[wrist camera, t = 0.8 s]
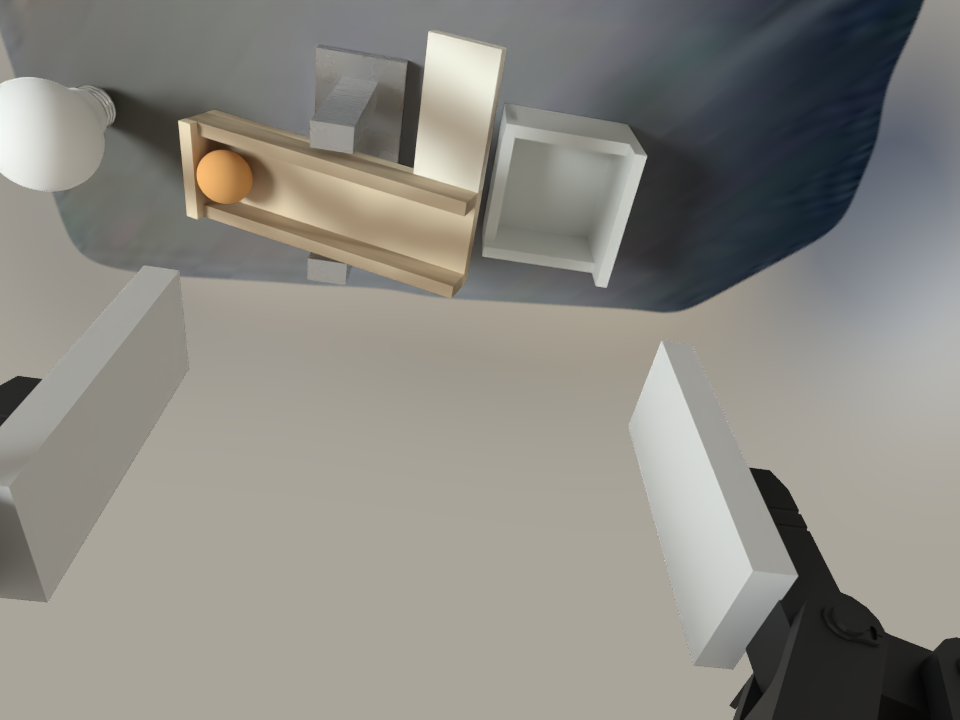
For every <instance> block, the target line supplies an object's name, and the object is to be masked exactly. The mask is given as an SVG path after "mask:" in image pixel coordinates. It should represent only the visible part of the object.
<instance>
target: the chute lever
mask: <svg viewBox="0 0 960 720" xmlns="http://www.w3.org/2000/svg"><path fill="white" fill-rule="evenodd" d="M506 51H507V48H506V47H502V46H498V45H494V44H490V43H486V42H482V41H478V40H474V39H470V38H466V37H462V36H458V35H454V34H450V33H446V32H442V31H438V30H432V31H429V33H428V43H427V52H426V61H425V70H424V79H423V88H422V98H421V107H420V116H419V125H418V134H417V144H416V153H415V162H414V168H411V167H407V166H404V165H401V164H397V163H394V162H390V161H387V160H384V159H380V158H377V157H373V156H370V155H367V154H363V153H360V152H356V151H354V153H353V154H349V153H343V152H337V151H331V150H324V149H318V148H312V147H310V138H309V137H305V136H302V135H299V134H295V133H292V132H288V131H285V130H282V129H278V128H275V127H271V126H268V125H265V124H261V123H258V122H254V121H251V120H248V119H244V118H241V117H237V116H234V115H231V114H227V113H224V112H220V111H217V110H211V111H208V112H205V113H201V114H198V115H195V116H192V117H188V118H185V119H182V120H178V123H179V134H180V145H181V155H182V166H183V177H184V188H185V198H186V209H187V216H189V217H192V218H195V219H200V218H202V217H207V218H210V219H213V220H216V221H219V222H222V223H225V224H228V225H231V226H234V227H237V228H240V229H243V230H246V231H250V232H253V233H256V234H259V235H262V236H265V237H268V238H271V239H274V240H277V241H280V242H283V243H286V244H289V245H292V246H295V247H298V248H301V249H304V250H307V251H310V252H313V253H316V254H319V255H322V256H325V257H328V258H331V259H334V260H337V261H340V262H343V263H346V264H349V265H352V266H355V267H358V268H361V269H364V270H367V271H370V272H373V273H376V274H379V275H382V276H385V277H388V278H391V279H394V280H397V281H400V282H403V283H406V284H409V285H412V286H415V287H418V288H421V289H424V290H427V291H430V292H433V293H436V294H439V295H442V296H445V297H448V298H452V297H453V296H454V295H455V294H456V293H457V291H458V290H459V289H460V288H461V287H462V286H463V285H464V283H465V282H466V281H467V277H468V272H469V266H470V260H471V254H472V248H473V243H474V237H475V231H476V225H477V219H478V214H479V208H480V202H481V196H482V190H483V185H484V179H485V173H486V167H487V162H488V156H489V150H490V144H491V138H492V133H493V127H494V121H495V115H496V109H497V104H498V98H499V92H500V86H501V80H502V75H503V69H504V63H505V57H506ZM216 150H228V151H232V152H234V153H236V154H238V155H240V156H241V157H242V158H243V159H244V160H245V161H246V162H247V164H248V165H249V167H250V169H251V172H252V178H253V181H252V187H251V189H250V191H249V193H248V194H247V196H246V197H245V198H243V199H242V200H241V201H239V202H236V203H232V204H222V203H218V202H215V201H213V200H211V199H210V198H208V197H207V196H206V195H205V194H204V193H203V192H202V190H201V188H200V187H199V184H198V181H197V168H198V165H199V163H200V161H201V160H202V158H203V157H204V156H205V155H207V154H208V153H210V152H212V151H216Z"/></svg>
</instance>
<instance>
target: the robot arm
mask: <svg viewBox="0 0 960 720" xmlns="http://www.w3.org/2000/svg"><path fill="white" fill-rule="evenodd" d="M188 370H189V362H188V352H187V343H186V333H185V323H184V313H183V303H182V293H181V283H180V274H179V271H178V270H172V269H165V268H158V267H151V266H143V267H142V268H141V269H140V270H139V272H138V273H137V274H136V275H135V276H134V277H133V278H132V279H131V281H130V282H129V283H128V284H127V285H126V286H125V287H124V289H123V290H122V291H121V292H120V293H119V294H118V295H117V296H116V297H115V299H114V300H113V301H112V302H111V303H110V304H109V305H108V306H107V308H106V309H105V310H104V311H103V312H102V313H101V314H100V315H99V316H98V318H97V319H96V320H95V321H94V322H93V323H92V324H91V325H90V327H89V328H88V329H87V330H86V331H85V332H84V333H83V335H82V336H81V337H80V338H79V339H78V340H77V341H76V342H75V343H74V345H73V346H72V347H71V348H70V349H69V350H68V351H67V352H66V354H65V355H64V356H63V357H62V358H61V359H60V360H59V361H58V363H57V364H56V365H55V366H54V367H53V368H52V369H51V370H50V371H49V373H48V374H47V375H46V376H45V377H44V378H43V379H38V378H30V377H22V376H17V377H15V378H13V379H11V380H10V381H8V382H6V383H4V384H2V385H0V598H8V599H9V598H10V599H20V600H29V601H39V602H48V601H49V599H50V597H51V596H52V594H53V592H54V591H55V589H56V588H57V586H58V584H59V583H60V581H61V579H62V578H63V576H64V574H65V573H66V571H67V569H68V568H69V566H70V564H71V563H72V561H73V559H74V558H75V556H76V554H77V553H78V551H79V549H80V548H81V546H82V544H83V543H84V541H85V540H86V538H87V536H88V535H89V533H90V531H91V530H92V528H93V526H94V525H95V523H96V522H97V520H98V518H99V517H100V515H101V513H102V512H103V510H104V508H105V507H106V505H107V503H108V502H109V500H110V498H111V497H112V495H113V493H114V492H115V490H116V488H117V487H118V485H119V484H120V482H121V480H122V479H123V477H124V475H125V474H126V472H127V470H128V469H129V467H130V465H131V464H132V462H133V461H134V459H135V457H136V455H137V454H138V452H139V451H140V449H141V447H142V446H143V444H144V442H145V441H146V439H147V437H148V436H149V434H150V432H151V431H152V429H153V428H154V426H155V424H156V422H157V421H158V419H159V418H160V416H161V414H162V413H163V411H164V409H165V408H166V406H167V404H168V403H169V401H170V399H171V398H172V396H173V395H174V393H175V391H176V389H177V388H178V386H179V385H180V383H181V381H182V380H183V378H184V376H185V375H186V373H187V371H188ZM628 427H629V431H630V434H631V438H632V442H633V445H634V449H635V453H636V457H637V460H638V464H639V467H640V471H641V475H642V479H643V482H644V486H645V490H646V493H647V497H648V501H649V504H650V508H651V512H652V515H653V519H654V523H655V527H656V530H657V534H658V538H659V541H660V545H661V549H662V552H663V556H664V560H665V564H666V567H667V570H668V574H669V578H670V582H671V585H672V589H673V593H674V597H675V600H676V604H677V608H678V611H679V615H680V619H681V623H682V626H683V630H684V633H685V637H686V641H687V645H688V648H689V651H690V656H691V659H692V663H693V665H694V666H704V667H713V668H723V669H724V668H725V669H734V667H735V666H736V664H737V663H738V662H739V660H740V659H741V657H742V656H743V654H744V653H745V652H747V655H748V657H749V660H750V663H751V666H752V669H753V672H754V673H753V674H752V675H751V677H750V678H749V679H748V681H747V682H746V683H745V685H744V686H743V688H742V689H741V690H740V692H739V693H738V695H737V696H736V697H735V698H734V700H733V701H732V703H731V704H730V706H731V707H732V708H734V709H736V708H737V710H736V713H735V716H734V719H733V720H960V638H957V637H956V638H950V639H945V640H944V641H943V642H942V643H941V644H940V645H939V646H938V647H937V648H936V649H935V650H934V651H931V650H928V649H925V648H923V647H920V646H918V645H915V644H913V643H910V642H908V641H905V640H902V639H900V638H897V637H895V636H892V635H890V634H888V633H886V632H885V631H884V629H883V627H882V625H881V624H880V622H879V620H878V619H877V618H876V617H875V616H874V615H873V614H872V613H871V612H870V610H869V609H868V608H867V607H865V606H864V605H862V604H861V603H860V602H858V601H857V600H855V599H854V598H853V597H851V596H848V595H846V594H843V593H841V592H840V590H839V588H838V586H837V585H836V582H835V581H834V579H833V577H832V575H831V573H830V571H829V569H828V567H827V565H826V563H825V561H824V559H823V557H822V555H821V553H820V551H819V549H818V547H817V545H816V543H815V541H814V539H813V537H812V535H811V533H810V532H809V531H807V525H806V524H805V522H804V520H803V518H802V516H801V514H798V511H799V510H798V508H797V506H796V504H795V502H794V500H793V498H792V496H791V494H790V492H789V490H788V489H787V488H786V487H785V486H784V485H783V484H782V483H781V481H780V480H779V479H778V478H776V476H775V475H774V474H773V473H772V472H771V471H770V470H763V469H755V468H749V467H748V465H747V463H746V461H745V459H744V457H743V454H742V452H741V450H740V448H739V445H738V443H737V441H736V439H735V437H734V435H733V433H732V430H731V428H730V426H729V424H728V422H727V419H726V417H725V415H724V413H723V411H722V408H721V406H720V404H719V402H718V400H717V398H716V396H715V393H714V391H713V389H712V387H711V385H710V382H709V380H708V378H707V376H706V374H705V371H704V369H703V367H702V365H701V363H700V361H699V359H698V356H697V354H696V352H695V350H694V348H693V345H690V344H683V343H676V342H670V341H663V340H662V341H661V344H660V346H659V349H658V352H657V354H656V357H655V359H654V362H653V364H652V367H651V370H650V372H649V375H648V377H647V380H646V382H645V385H644V387H643V390H642V393H641V395H640V398H639V400H638V403H637V405H636V408H635V411H634V413H633V416H632V419H631V421H630V423H629V426H628Z"/></svg>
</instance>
